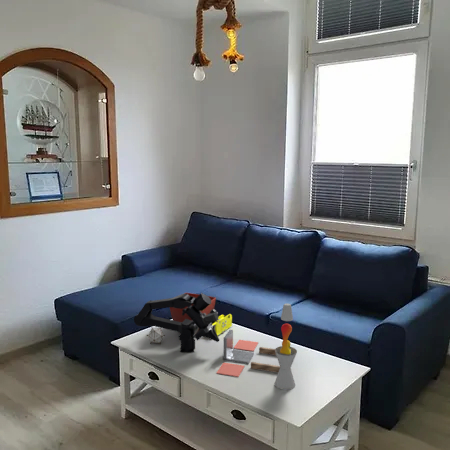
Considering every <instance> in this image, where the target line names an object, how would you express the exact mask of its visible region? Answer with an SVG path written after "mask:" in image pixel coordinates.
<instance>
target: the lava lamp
mask: <svg viewBox="0 0 450 450" xmlns="http://www.w3.org/2000/svg"><path fill="white" fill-rule="evenodd" d="M280 319H281V320H282V321H284V322H291V321H293V320H294V318H293V308H292V304H290V303H284V304H283V306H282V311H281V316H280ZM280 330H281V335H282V342H281V345H280V346H277V347H275V348H274V349H275V353H276V355H275V356H276V358H277V361H278V366H280V369H279V372H277V374H276V375H277V376H276V378H275V381H274V386H275V387H276V388H277V389H281V390H286V391H287V390H293V389H294V388H295V387H296V382H295V379H294V378H295V377H294V374H293V371H292V369H291V368H292V365H293V363H294V361H295V358H296V356H297V352H298V350H297V349H296V348H295V347H292V345H291V341H290V340H288V339H289V336H290V334H291V333H292V331H293V327H292V325H291V324H289V323H284V324H282V325H281V327H280Z"/></svg>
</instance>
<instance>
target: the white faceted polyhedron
mask: <svg viewBox="0 0 450 450" xmlns="http://www.w3.org/2000/svg"><path fill="white" fill-rule="evenodd" d="M146 336H147V337H148V338H149V341H150V344H153V343H155V344H159V345H161V342H162V340H163V338H164V337H166V334H164V333H163V330H162V328H160V327H155V328H154V326H151V329H150V331H149V333H148V334H146Z"/></svg>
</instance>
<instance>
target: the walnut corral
mask: <svg viewBox="0 0 450 450" xmlns="http://www.w3.org/2000/svg"><path fill="white" fill-rule="evenodd" d="M275 349H276V348H271V347H270V348H269V347H263V346H260V347H259V348H258V352H259V353H258V354H266V355H273V356H276V353H275ZM250 369H252V370H253V369H254V370H259V371H266V372H273V373H278V372H279V369H280V365H276V364H275V365H274V364H269V363H260V362H254V361H250Z"/></svg>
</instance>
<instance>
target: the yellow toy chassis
mask: <svg viewBox="0 0 450 450" xmlns="http://www.w3.org/2000/svg"><path fill="white" fill-rule="evenodd" d="M218 317H219V318H218V320H217V321H216V322H215V323H214V324H212V325H215V331H216V333H217V336H218V337H219V335H221V334H224V333H225V332H228V331H227V330H228V329H230V328H231V327H233V315H232V314H231V313H229V314H227V315H224V314H221V315H218Z"/></svg>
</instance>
